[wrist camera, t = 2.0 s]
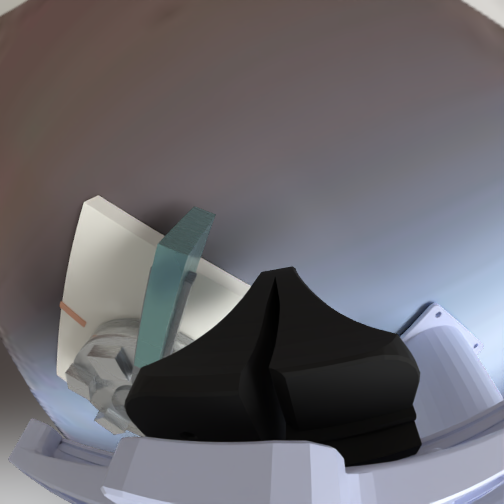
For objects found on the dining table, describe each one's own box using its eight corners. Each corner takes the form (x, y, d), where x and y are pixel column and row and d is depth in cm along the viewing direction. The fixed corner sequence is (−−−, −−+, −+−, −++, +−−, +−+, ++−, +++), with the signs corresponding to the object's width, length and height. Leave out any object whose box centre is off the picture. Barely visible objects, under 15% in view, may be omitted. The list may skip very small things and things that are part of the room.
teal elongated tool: (209, 433, 20) (200, 478, 16) (92, 385, 19) (70, 425, 15) (319, 252, 13) (338, 312, 9) (105, 170, 12) (41, 193, 8)
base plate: (338, 333, 17) (343, 350, 16) (210, 441, 24) (208, 453, 23) (96, 194, 14) (81, 201, 13) (62, 363, 22) (54, 374, 20)
